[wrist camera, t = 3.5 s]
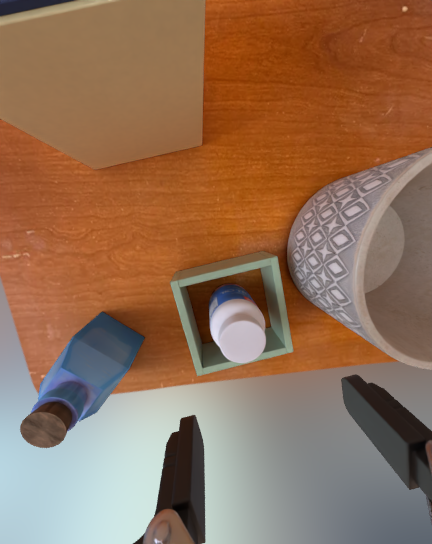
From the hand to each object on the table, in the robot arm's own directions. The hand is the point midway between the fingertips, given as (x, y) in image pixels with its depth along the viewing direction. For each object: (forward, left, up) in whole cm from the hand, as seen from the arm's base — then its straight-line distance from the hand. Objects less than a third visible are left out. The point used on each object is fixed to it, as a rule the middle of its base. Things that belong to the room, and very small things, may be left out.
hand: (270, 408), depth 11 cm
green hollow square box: (0, 0, -16) cm, 16 cm away
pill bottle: (0, 0, -17) cm, 17 cm away
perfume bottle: (-16, -2, -17) cm, 23 cm away
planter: (+16, +3, -17) cm, 23 cm away
